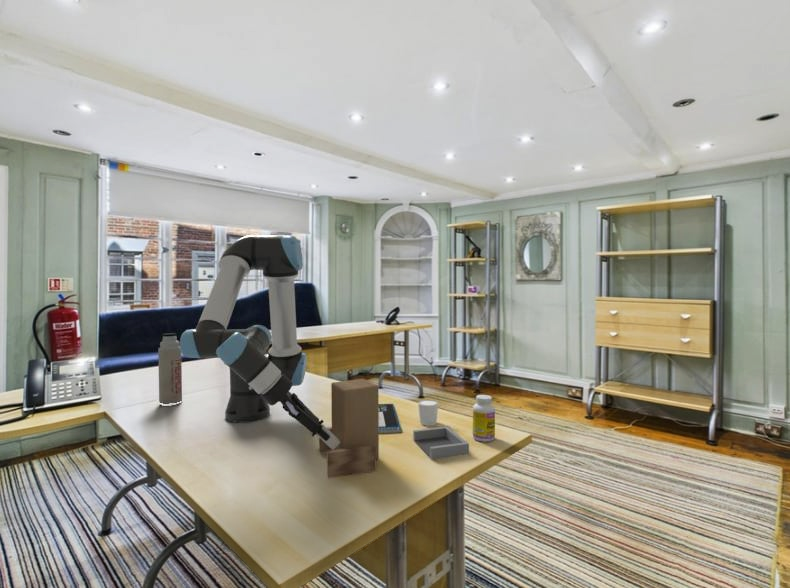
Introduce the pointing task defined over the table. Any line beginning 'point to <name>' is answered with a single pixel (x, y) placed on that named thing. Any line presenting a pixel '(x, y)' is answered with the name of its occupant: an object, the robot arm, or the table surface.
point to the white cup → (428, 412)
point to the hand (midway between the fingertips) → (336, 445)
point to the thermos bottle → (170, 370)
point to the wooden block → (355, 414)
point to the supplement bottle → (483, 419)
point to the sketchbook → (388, 419)
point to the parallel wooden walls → (348, 459)
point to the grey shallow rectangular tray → (440, 442)
